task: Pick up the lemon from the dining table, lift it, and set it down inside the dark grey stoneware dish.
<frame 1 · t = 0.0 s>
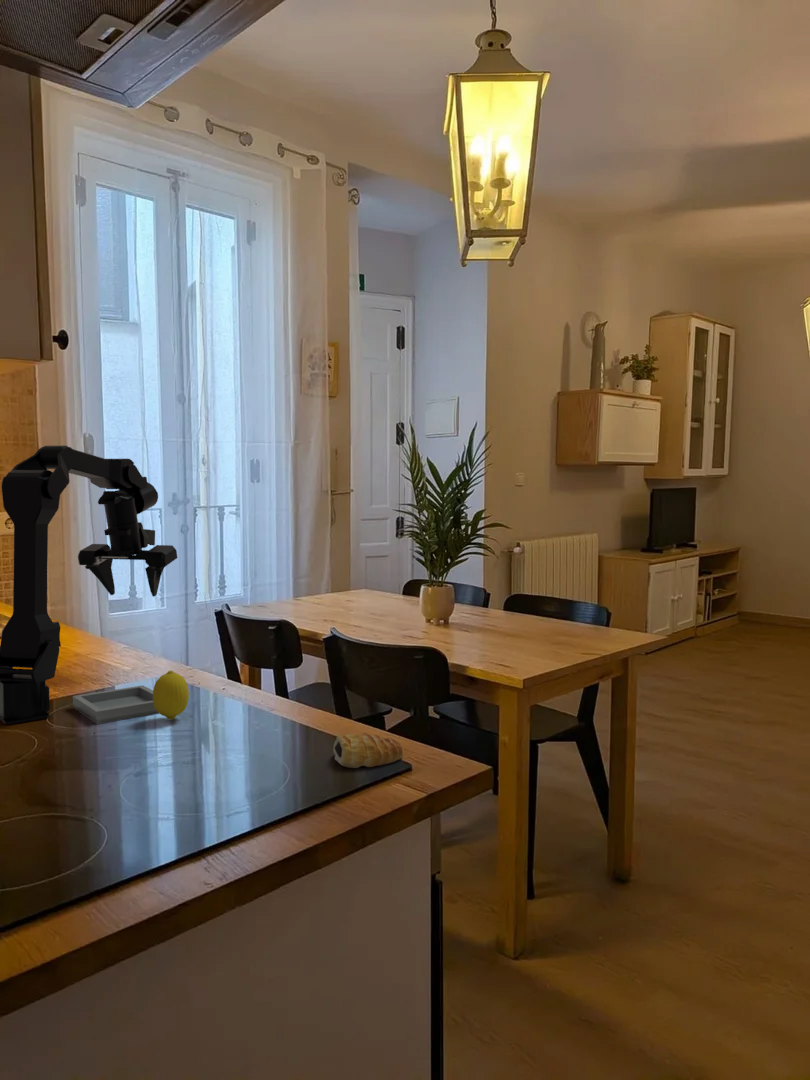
hand: (133, 595, 158), 15 cm above the cooktop, tool pointing down, fingers open, 9 cm apart
lemon: (171, 721, 124), on the cooktop
pastry: (363, 762, 106), on the cooktop
dish: (121, 709, 130), on the cooktop
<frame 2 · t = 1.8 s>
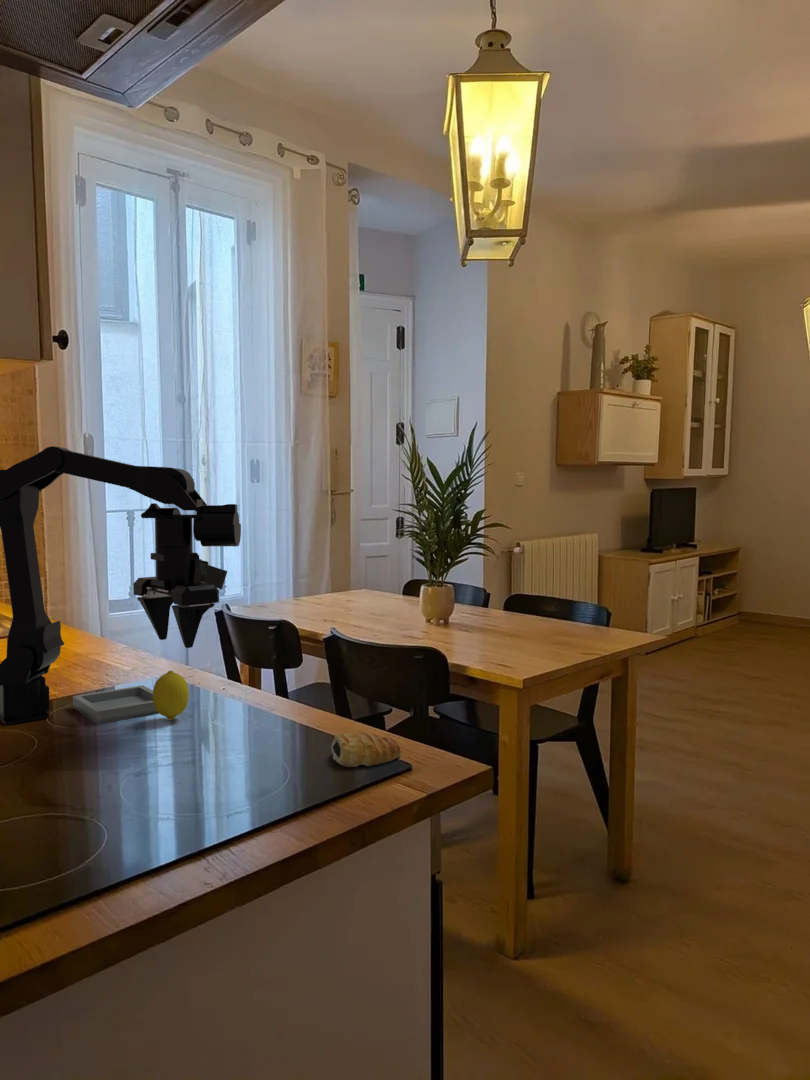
hand: (175, 643, 125), 12 cm above the cooktop, tool pointing down, fingers open, 9 cm apart
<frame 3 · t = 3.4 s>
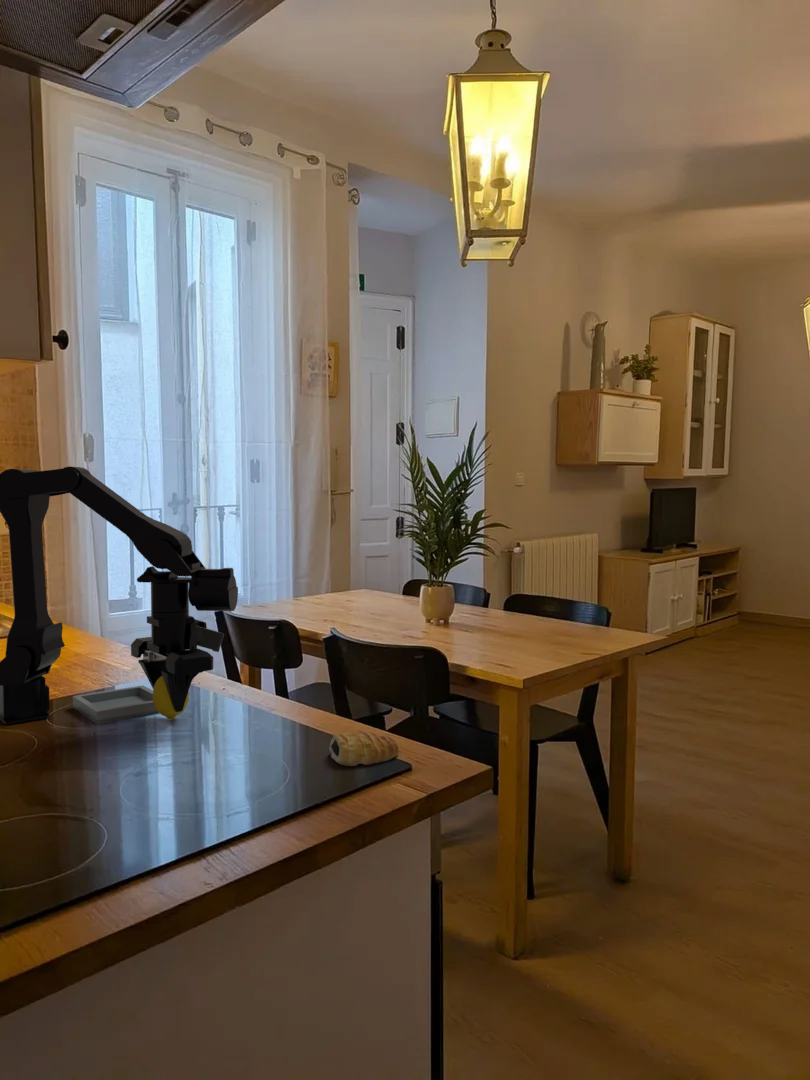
hand: (171, 707, 124), 2 cm above the cooktop, tool pointing down, fingers closed on lemon, 5 cm apart
lemon: (171, 721, 124), on the cooktop, touching gripper
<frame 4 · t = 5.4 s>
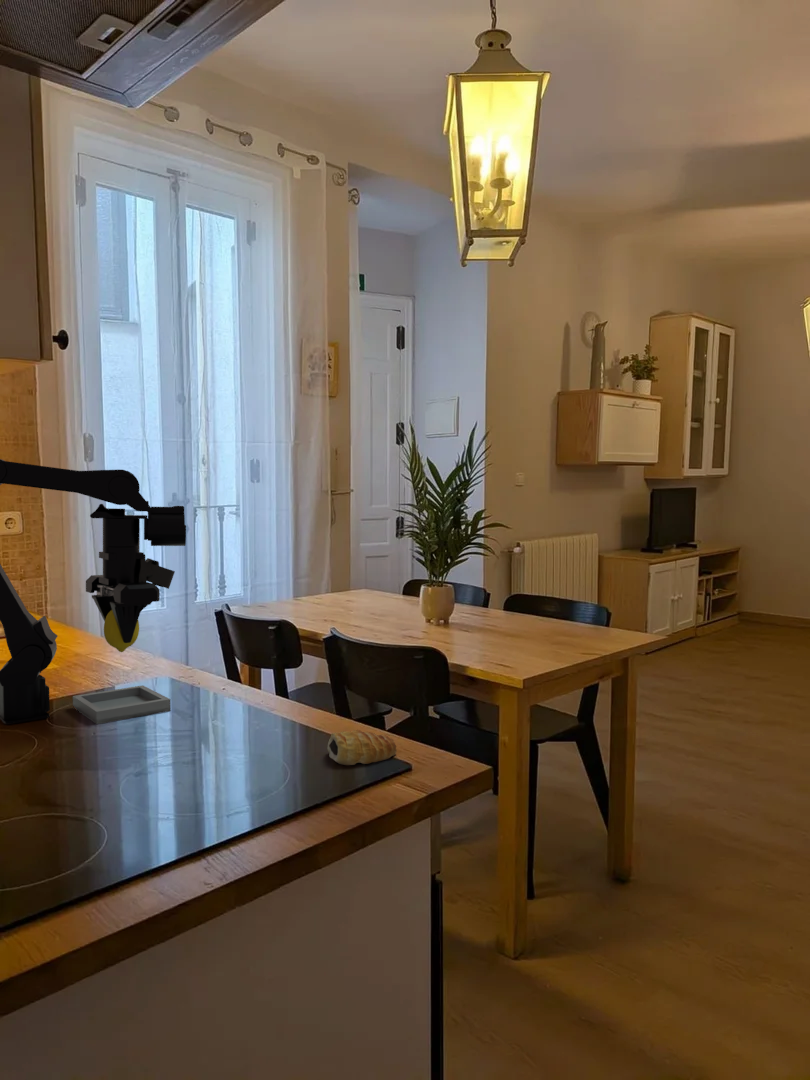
hand: (121, 639, 129), 12 cm above the cooktop, tool pointing down, fingers closed on lemon, 5 cm apart
lemon: (121, 653, 129), point 10 cm above the cooktop, touching gripper
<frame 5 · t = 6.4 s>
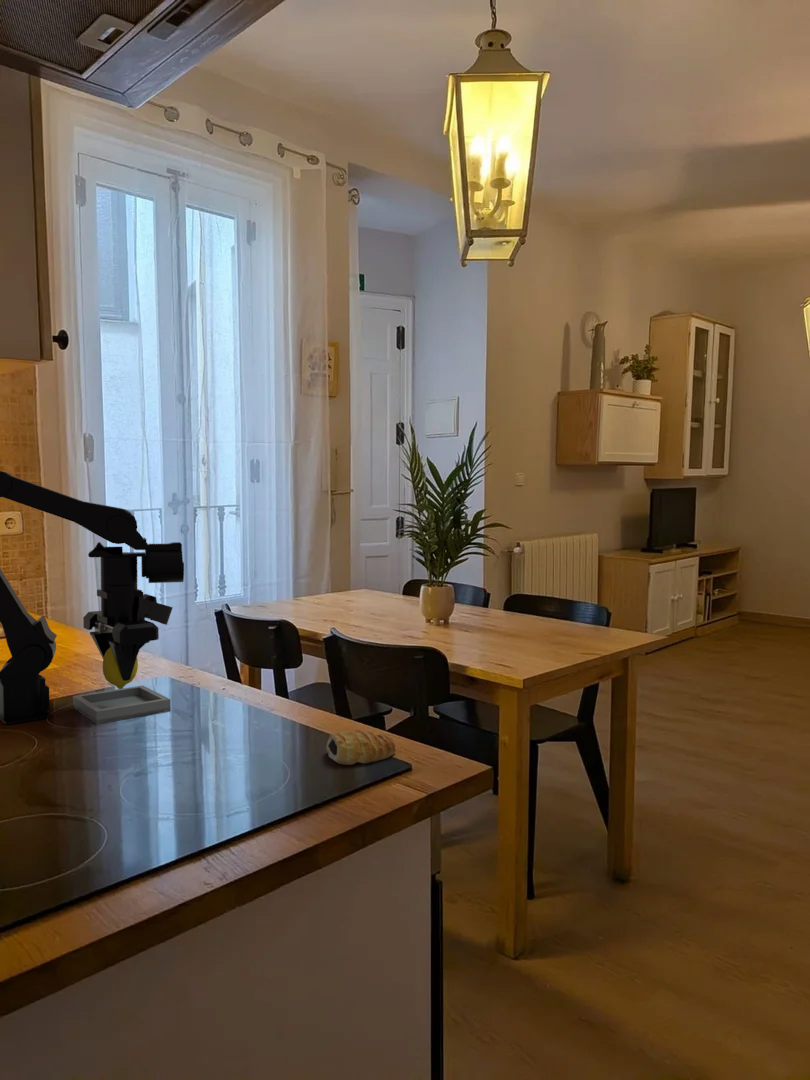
hand: (120, 677, 130), 5 cm above the cooktop, tool pointing down, fingers closed on lemon, 5 cm apart
lemon: (120, 690, 130), point 3 cm above the cooktop, touching gripper
when the fingers open (4 cm above the cooktop, at t = 7.1 s): lemon drops 1 cm, resting on dish.
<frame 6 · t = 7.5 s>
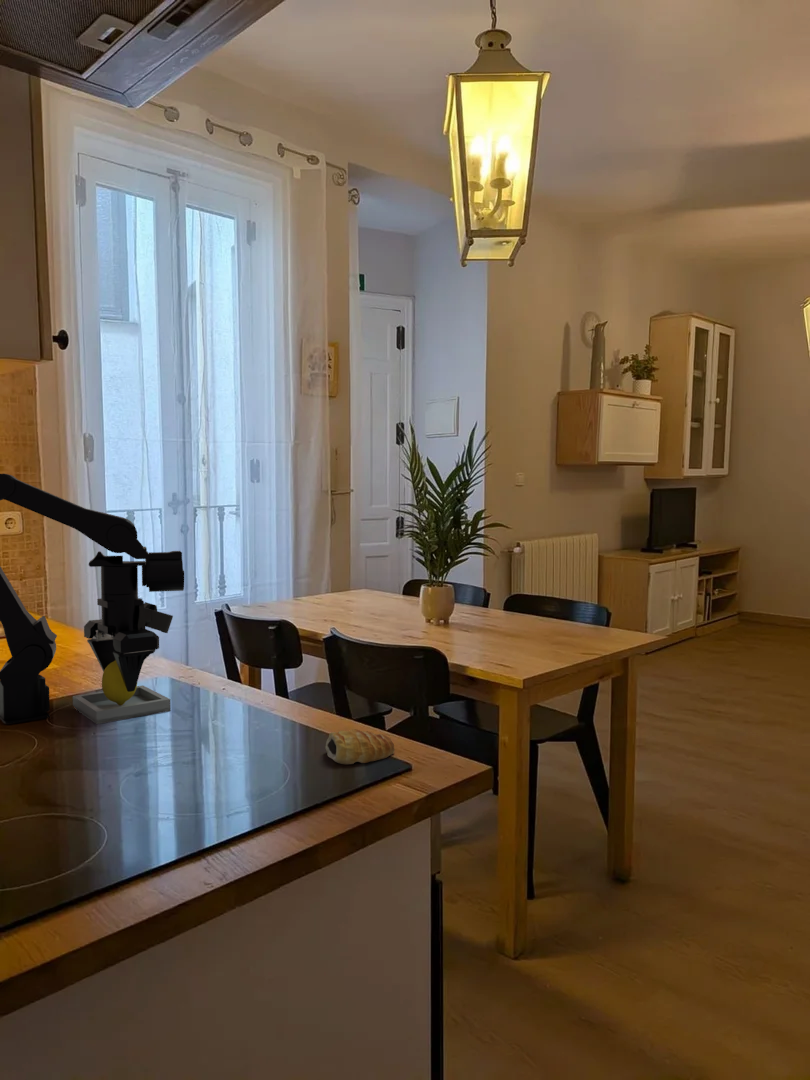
hand: (120, 685, 130), 4 cm above the cooktop, tool pointing down, fingers open, 9 cm apart
lemon: (121, 706, 130), resting on dish
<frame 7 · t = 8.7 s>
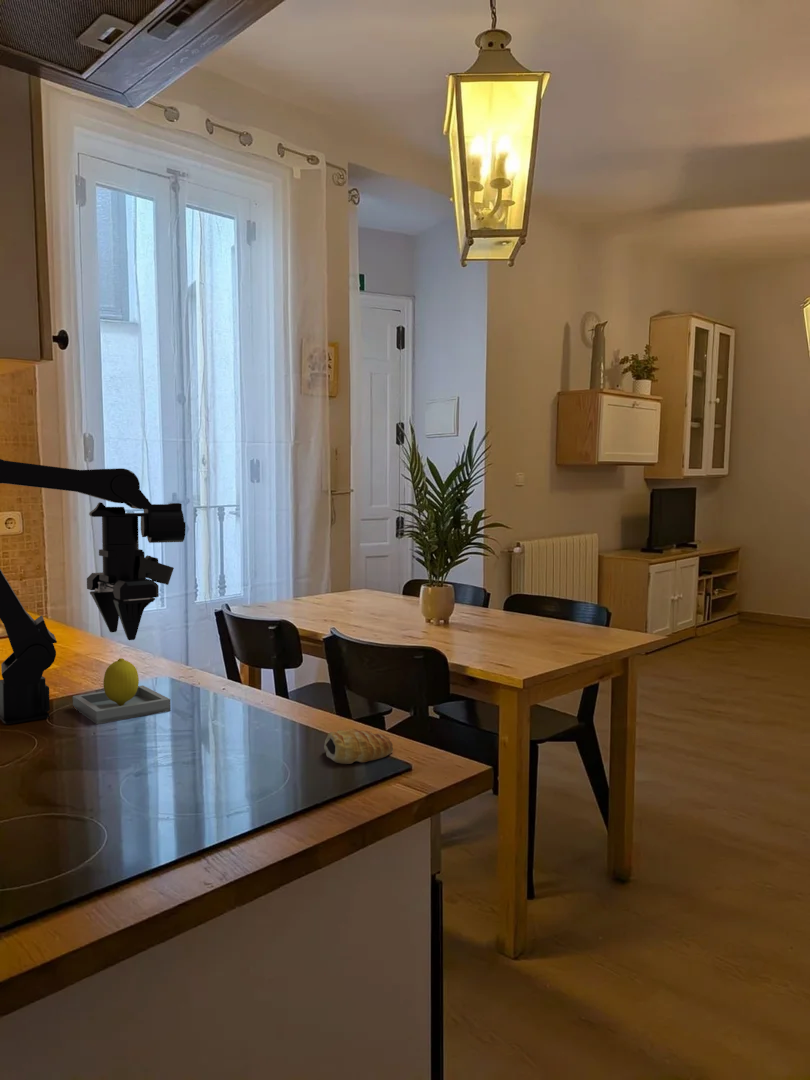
hand: (122, 635, 131), 12 cm above the cooktop, tool pointing down, fingers open, 9 cm apart
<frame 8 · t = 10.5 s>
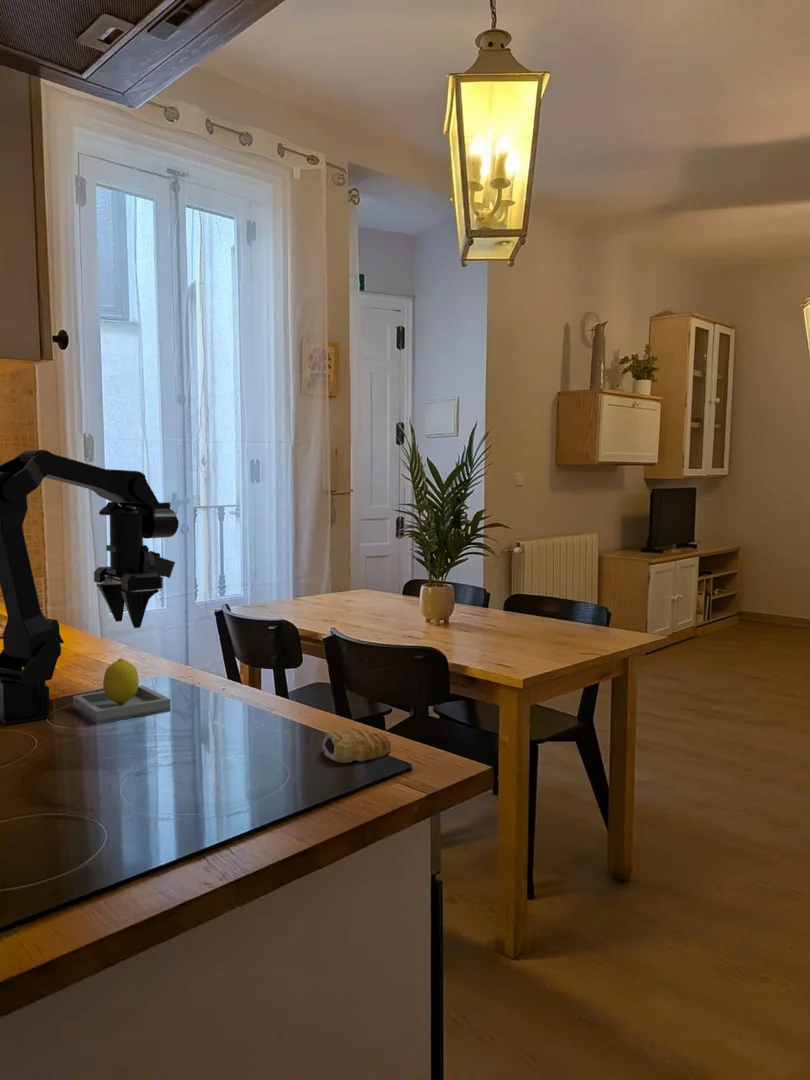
hand: (127, 624, 143), 12 cm above the cooktop, tool pointing down, fingers open, 9 cm apart
at the end: lemon 0.1 cm from the dish (horizontally); lemon resting on dish; the gripper is holding nothing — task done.
